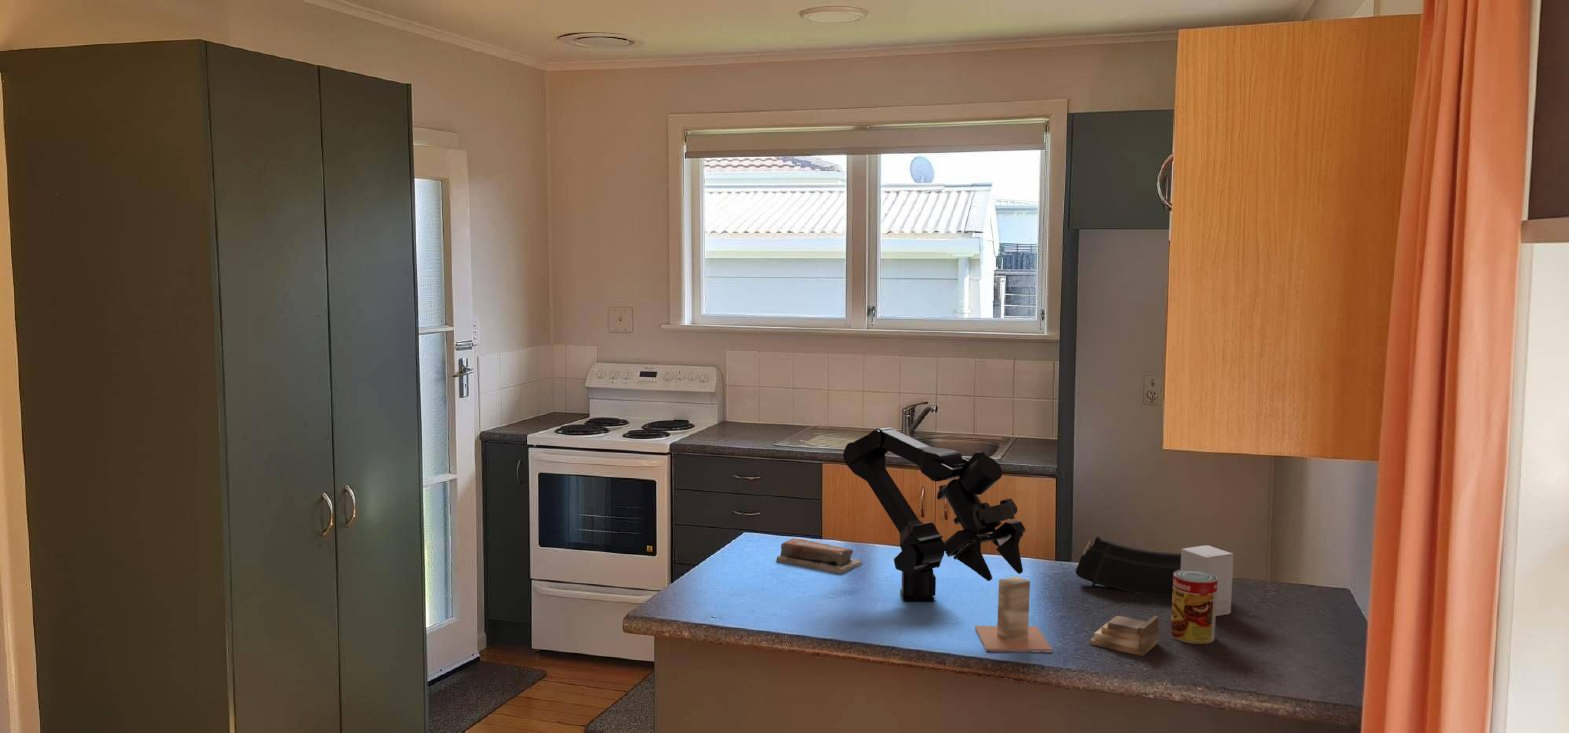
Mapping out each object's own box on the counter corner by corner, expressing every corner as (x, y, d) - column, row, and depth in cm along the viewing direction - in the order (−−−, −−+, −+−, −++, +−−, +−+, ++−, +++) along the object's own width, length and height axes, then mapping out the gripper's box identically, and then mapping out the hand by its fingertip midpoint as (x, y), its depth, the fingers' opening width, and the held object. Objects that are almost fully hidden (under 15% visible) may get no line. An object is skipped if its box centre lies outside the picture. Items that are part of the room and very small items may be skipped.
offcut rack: (1089, 644, 206) (1090, 617, 205) (1105, 632, 212) (1106, 605, 211) (1142, 656, 200) (1144, 628, 199) (1157, 643, 206) (1158, 616, 205)
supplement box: (1231, 614, 223) (1235, 553, 222) (1203, 618, 220) (1206, 557, 219) (1205, 603, 230) (1208, 544, 228) (1177, 607, 227) (1180, 547, 226)
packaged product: (774, 543, 256) (797, 534, 265) (774, 563, 257) (797, 553, 265) (842, 555, 247) (863, 545, 255) (841, 576, 247) (863, 565, 256)
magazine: (1239, 559, 231) (1100, 505, 240) (1240, 563, 228) (1098, 508, 237) (1210, 631, 235) (1073, 575, 244) (1210, 636, 232) (1072, 580, 241)
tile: (986, 651, 201) (986, 648, 201) (975, 628, 213) (975, 625, 213) (1051, 652, 201) (1052, 649, 201) (1036, 629, 213) (1037, 626, 213)
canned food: (1166, 628, 214) (1169, 568, 213) (1207, 630, 214) (1211, 570, 212) (1176, 643, 207) (1179, 580, 205) (1219, 644, 206) (1223, 582, 204)
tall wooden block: (997, 636, 207) (998, 579, 206) (1015, 632, 210) (1016, 576, 208) (1009, 642, 204) (1011, 584, 203) (1027, 638, 207) (1029, 581, 205)
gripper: (960, 490, 208) (1001, 562, 201) (1022, 480, 220) (1062, 549, 213) (926, 520, 215) (964, 591, 208) (988, 509, 227) (1026, 576, 220)
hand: (1005, 576), depth 212 cm, fingers open, 9 cm apart
